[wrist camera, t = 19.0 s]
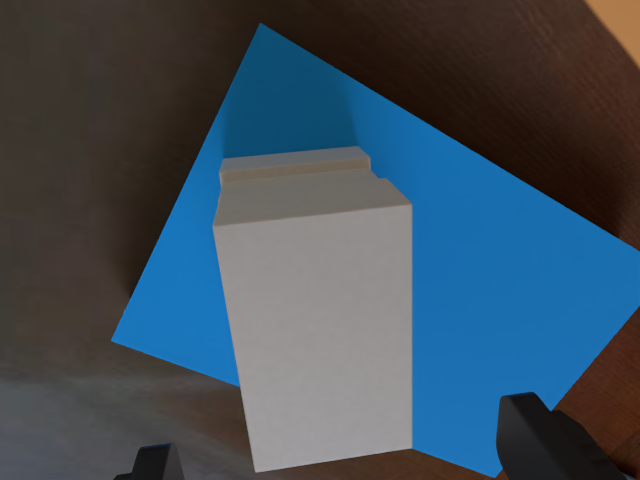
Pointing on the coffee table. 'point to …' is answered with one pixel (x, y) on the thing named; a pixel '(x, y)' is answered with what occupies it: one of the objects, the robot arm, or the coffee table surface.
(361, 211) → the light grey block
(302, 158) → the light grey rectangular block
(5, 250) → the coffee table surface
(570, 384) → the book
